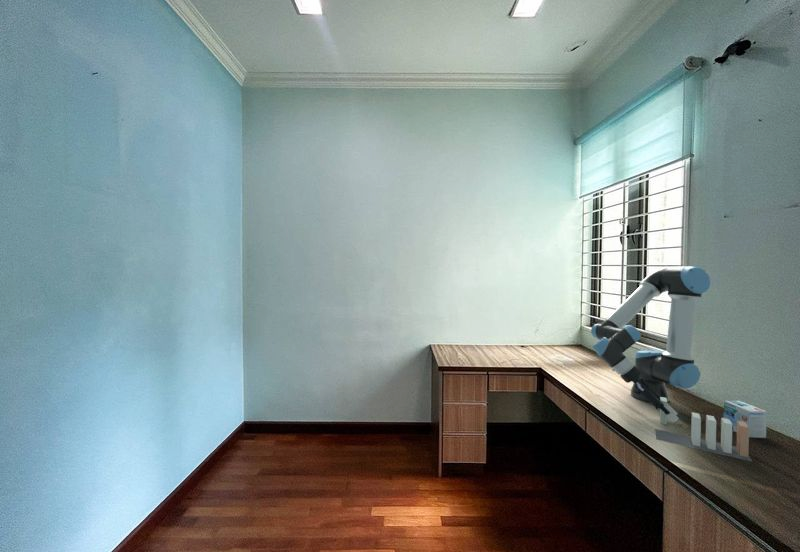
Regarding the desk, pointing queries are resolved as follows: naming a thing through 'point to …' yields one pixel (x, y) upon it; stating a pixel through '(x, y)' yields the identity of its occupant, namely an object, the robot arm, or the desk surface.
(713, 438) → the domino
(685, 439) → the domino mat
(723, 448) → the domino
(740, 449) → the end domino
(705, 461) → the desk surface
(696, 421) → the domino
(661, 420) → the domino
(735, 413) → the light bulb box
